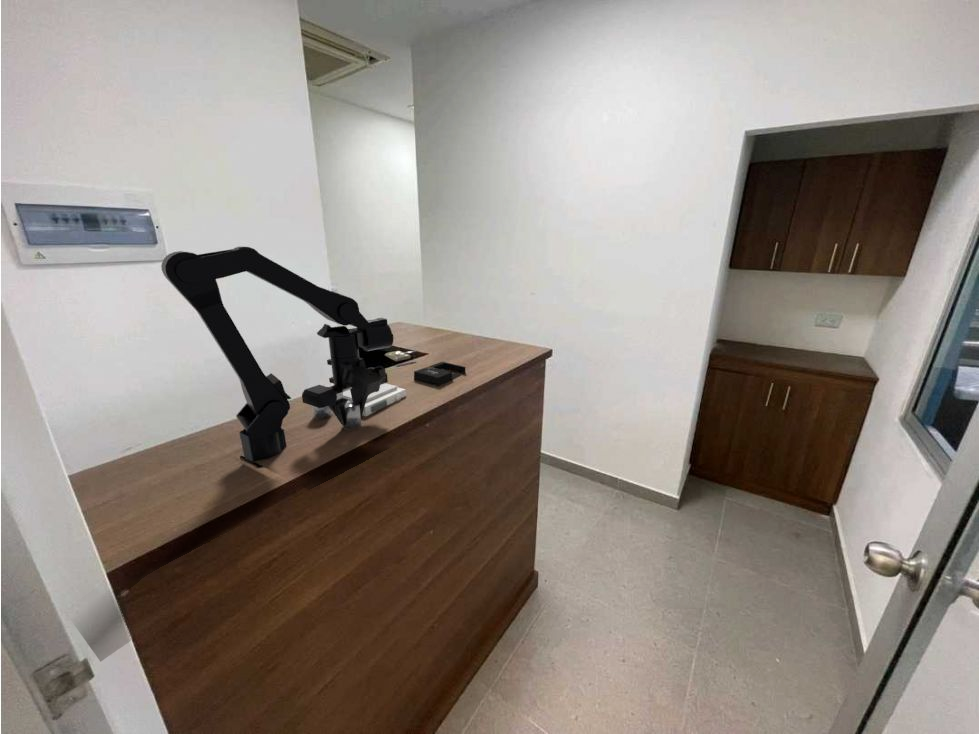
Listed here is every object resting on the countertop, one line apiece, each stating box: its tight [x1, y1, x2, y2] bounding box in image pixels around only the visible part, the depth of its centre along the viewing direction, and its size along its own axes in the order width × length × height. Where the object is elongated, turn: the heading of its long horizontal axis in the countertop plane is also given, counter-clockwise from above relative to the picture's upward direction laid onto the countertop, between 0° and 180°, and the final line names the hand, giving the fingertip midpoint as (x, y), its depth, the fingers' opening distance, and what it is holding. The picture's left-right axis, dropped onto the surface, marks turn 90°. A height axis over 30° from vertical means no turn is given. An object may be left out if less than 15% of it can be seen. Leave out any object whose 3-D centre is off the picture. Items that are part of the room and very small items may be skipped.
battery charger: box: [413, 361, 466, 387], centre depth 116 cm, size 13×10×4 cm
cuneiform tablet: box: [384, 350, 417, 362], centre depth 133 cm, size 7×4×12 cm
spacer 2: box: [342, 402, 362, 431], centre depth 86 cm, size 4×4×5 cm
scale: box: [343, 383, 407, 417], centre depth 100 cm, size 14×16×3 cm
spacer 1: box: [312, 406, 333, 420], centre depth 90 cm, size 4×4×5 cm
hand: (351, 421), depth 86 cm, fingers closed on spacer 2, 4 cm apart
